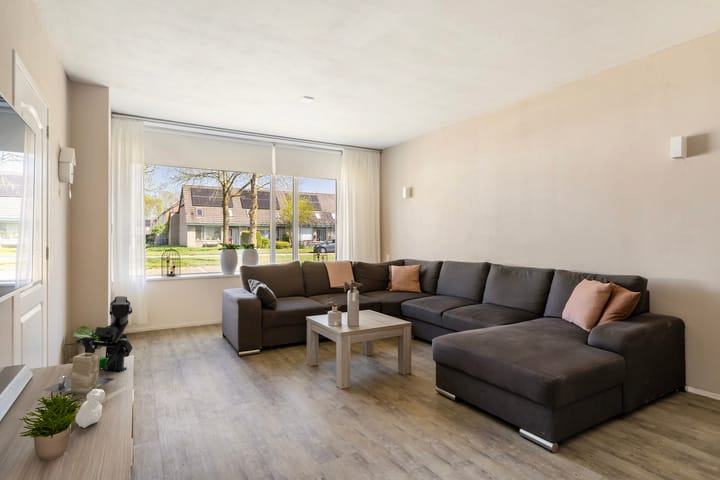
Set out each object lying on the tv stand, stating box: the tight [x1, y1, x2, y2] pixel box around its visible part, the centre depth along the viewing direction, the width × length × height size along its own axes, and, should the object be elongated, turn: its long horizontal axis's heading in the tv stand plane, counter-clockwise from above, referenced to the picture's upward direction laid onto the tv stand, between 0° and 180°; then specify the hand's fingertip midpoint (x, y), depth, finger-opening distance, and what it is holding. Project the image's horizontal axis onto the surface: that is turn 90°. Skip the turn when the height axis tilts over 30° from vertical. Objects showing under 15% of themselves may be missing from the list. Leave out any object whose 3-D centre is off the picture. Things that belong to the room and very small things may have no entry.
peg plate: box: [43, 375, 116, 395], centre depth 153 cm, size 17×16×6 cm
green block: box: [99, 355, 108, 370], centre depth 177 cm, size 11×4×5 cm, turn 70°
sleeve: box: [70, 352, 101, 391], centre depth 149 cm, size 6×6×12 cm
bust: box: [75, 388, 106, 429], centre depth 126 cm, size 12×8×11 cm
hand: (95, 364), depth 155 cm, fingers open, 9 cm apart
